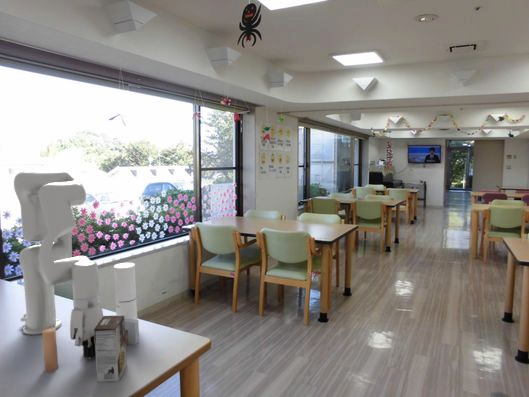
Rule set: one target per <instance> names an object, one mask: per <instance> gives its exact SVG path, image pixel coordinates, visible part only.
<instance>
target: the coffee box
mask: <svg viewBox="0 0 529 397" xmlns="http://www.w3.org/2000/svg"><path fill="white" fill-rule="evenodd" d="M94 333H95V350H96V356H95V365H96V368H95V369H96V381H97V383H98V382H100V383H101V382H103V383H104V382H118V381H120V380H121V377H122V376H123V373H124V370H125V369H126V366H127V364H128V360H127V345H126V340H125V323H124V316H116V315H103V318H102V319H101V320H100V322H99V323H98V324H97V326H96V327H95V329H94Z"/></svg>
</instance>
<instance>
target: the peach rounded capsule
mask: <svg viewBox="0 0 529 397" xmlns="http://www.w3.org/2000/svg"><path fill="white" fill-rule="evenodd" d="M56 331H57V329H54V328H50V329H46V330H44V331H42V334H41V335H42V336H41V337H42V339H41V340H42V352H43V362H44V363H43V366H44V372H54V371H57V370H58V368H59V359H58V358H59V357H58V345H57V343H58V342H57V334H56V333H57V332H56Z"/></svg>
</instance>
